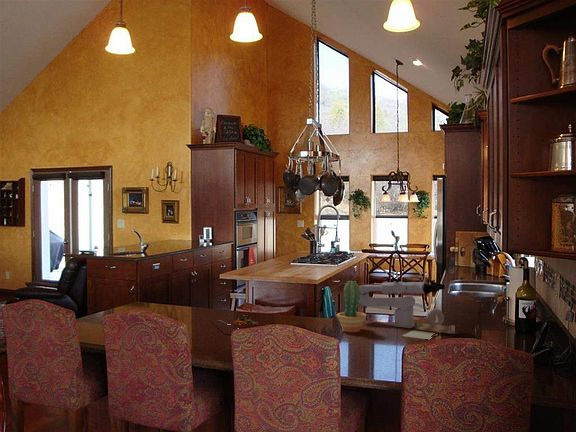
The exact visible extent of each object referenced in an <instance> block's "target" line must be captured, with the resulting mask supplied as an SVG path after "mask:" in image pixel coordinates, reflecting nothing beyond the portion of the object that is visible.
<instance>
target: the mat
mask: <svg viewBox="0 0 576 432" xmlns="http://www.w3.org/2000/svg"><path fill="white" fill-rule="evenodd" d="M435 333H436V332H433V331H425V330H417V329H414V330H410V331H409V332H406V333H404V334H403V335H401V337H404V338H412V339H420V340H425V339H428V340H427V341H431V340H432V339H431V338H432V337H431V336H432V335H433V334H435ZM430 339H431V340H430Z"/></svg>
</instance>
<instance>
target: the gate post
mask: <svg viewBox="0 0 576 432" xmlns="http://www.w3.org/2000/svg"><path fill="white" fill-rule="evenodd" d="M450 326H451V333H450V335H451V334H456V326H455V325H453V324H452V325H450Z"/></svg>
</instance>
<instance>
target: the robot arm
mask: <svg viewBox="0 0 576 432" xmlns="http://www.w3.org/2000/svg"><path fill="white" fill-rule="evenodd" d="M358 286H359V288H360V289H361V294H360V300H359V302H358V304H361V306H364V307H385V308H386V307H388V308H389V307H392V308H395V309H394V314H393V315H394V317H393V318H394V321H393V322H394V323H393V327H398V328H399V327H400V328H408V329H411V328H415V321H414V306H415V304H416V298H415V297H414V296H412V295H409V294H424V295H425V296H426V295H428V294H429V293H435V292H439V291H441V290H445V288H446V287H445V284H444V283H440V282H439V283H438V282H435V281H434V280H431V281H430V283H428V282H427V281H426V279H423V280H422V281H408V282H407V281H398V282H397V281H396V280H395V281H393V282H390V281H389V282H388V280H387V281H384V282H382V283H381V284H362V285H358ZM370 292H381V293H382V294H397V295H400V294H405V293H406V294H408V295H405V296H399V297H376V296H375V297H372V296H371V297H370V295H369V293H370Z"/></svg>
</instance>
